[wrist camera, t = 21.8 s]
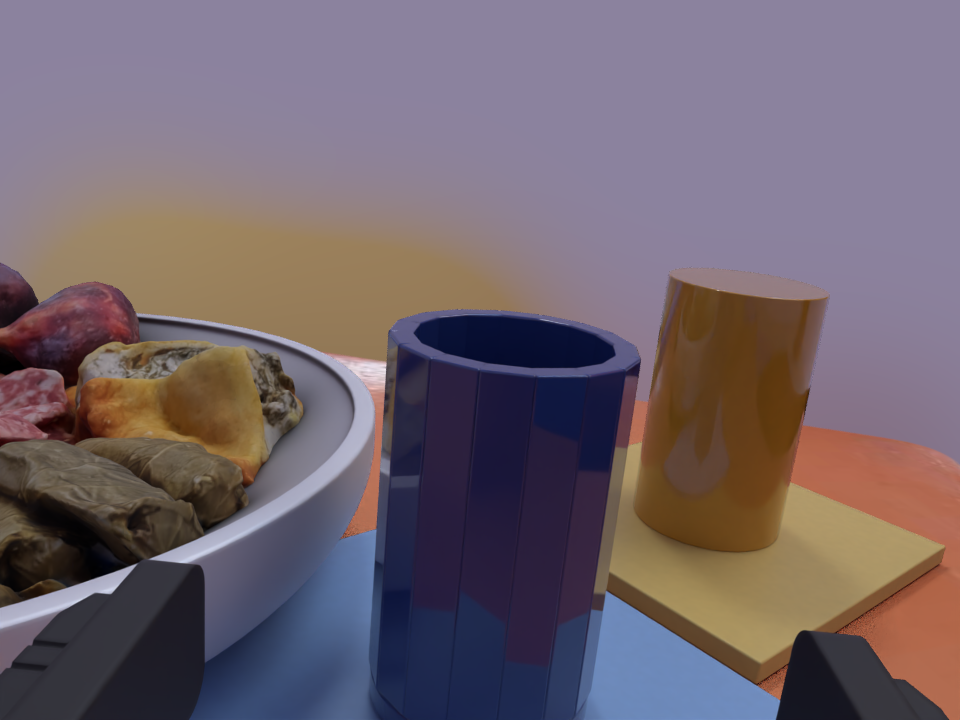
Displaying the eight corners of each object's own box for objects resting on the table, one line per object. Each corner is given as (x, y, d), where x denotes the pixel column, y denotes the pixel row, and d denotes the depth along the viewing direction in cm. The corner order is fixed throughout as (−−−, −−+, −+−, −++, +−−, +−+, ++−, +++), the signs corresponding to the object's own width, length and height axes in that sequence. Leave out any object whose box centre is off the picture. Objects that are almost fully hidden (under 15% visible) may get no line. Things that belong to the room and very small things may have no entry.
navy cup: (632, 708, 22) (691, 357, 19) (460, 809, 18) (503, 391, 16) (490, 602, 26) (522, 303, 24) (327, 666, 23) (343, 318, 20)
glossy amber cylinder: (806, 529, 34) (859, 293, 31) (724, 567, 30) (775, 304, 27) (688, 475, 38) (725, 265, 35) (603, 503, 34) (637, 270, 32)
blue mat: (833, 760, 22) (839, 736, 22) (299, 1221, 12) (301, 1183, 12) (465, 519, 34) (467, 501, 33) (36, 648, 23) (34, 625, 23)
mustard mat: (941, 563, 34) (946, 545, 34) (756, 685, 25) (761, 663, 25) (670, 446, 44) (672, 432, 44) (469, 504, 35) (471, 487, 35)
